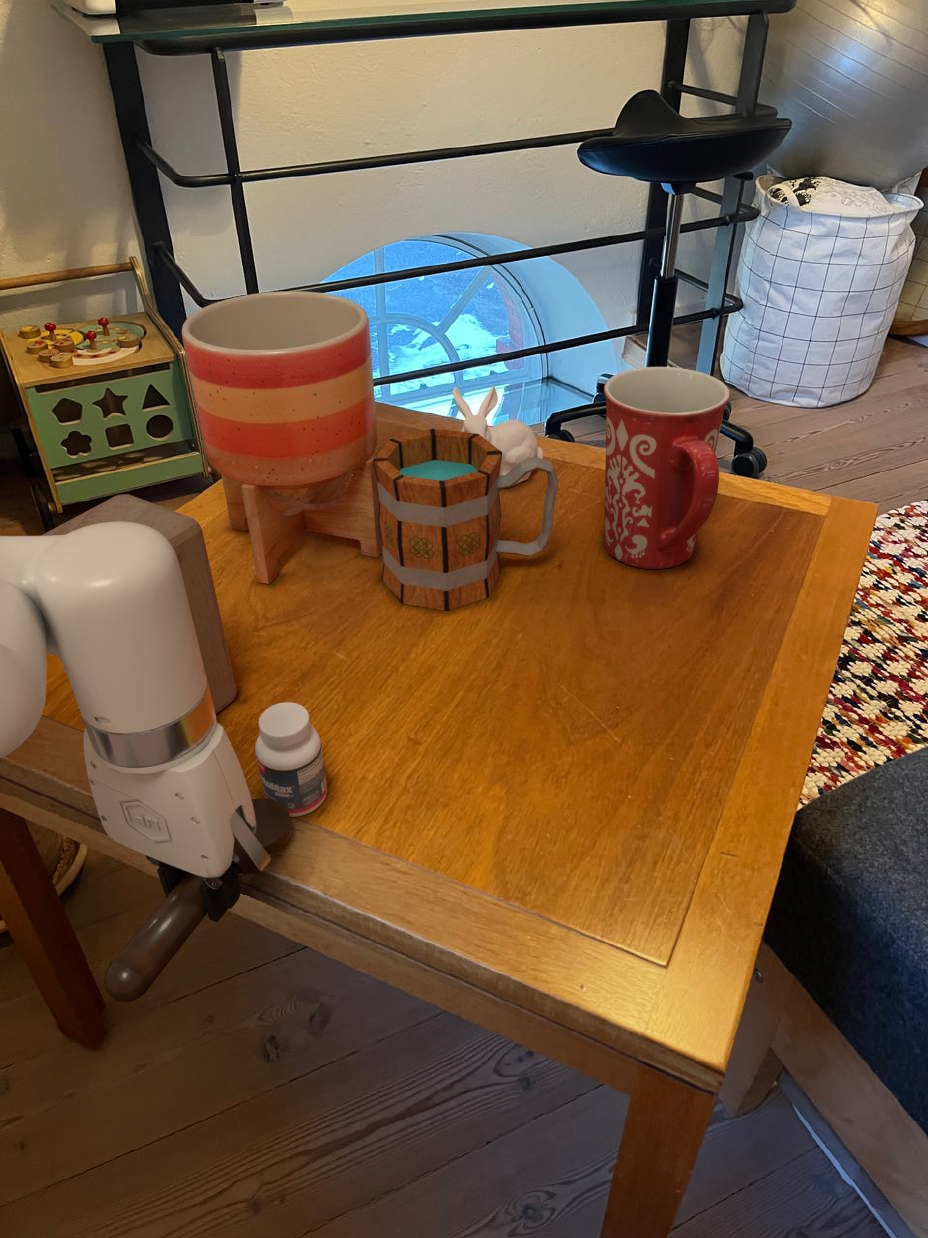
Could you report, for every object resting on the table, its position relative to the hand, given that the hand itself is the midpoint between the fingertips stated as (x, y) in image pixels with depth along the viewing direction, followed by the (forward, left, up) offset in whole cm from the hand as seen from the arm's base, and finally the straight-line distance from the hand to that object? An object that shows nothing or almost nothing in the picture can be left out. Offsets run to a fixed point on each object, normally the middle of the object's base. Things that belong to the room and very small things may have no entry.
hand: (205, 896), depth 67 cm
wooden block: (-15, +19, -2) cm, 24 cm away
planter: (-14, +50, -2) cm, 52 cm away
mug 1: (+7, +48, -2) cm, 49 cm away
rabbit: (+4, +71, -2) cm, 71 cm away
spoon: (0, 0, 0) cm, 0 cm away
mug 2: (+27, +57, -2) cm, 63 cm away
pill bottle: (+2, +12, -2) cm, 12 cm away
